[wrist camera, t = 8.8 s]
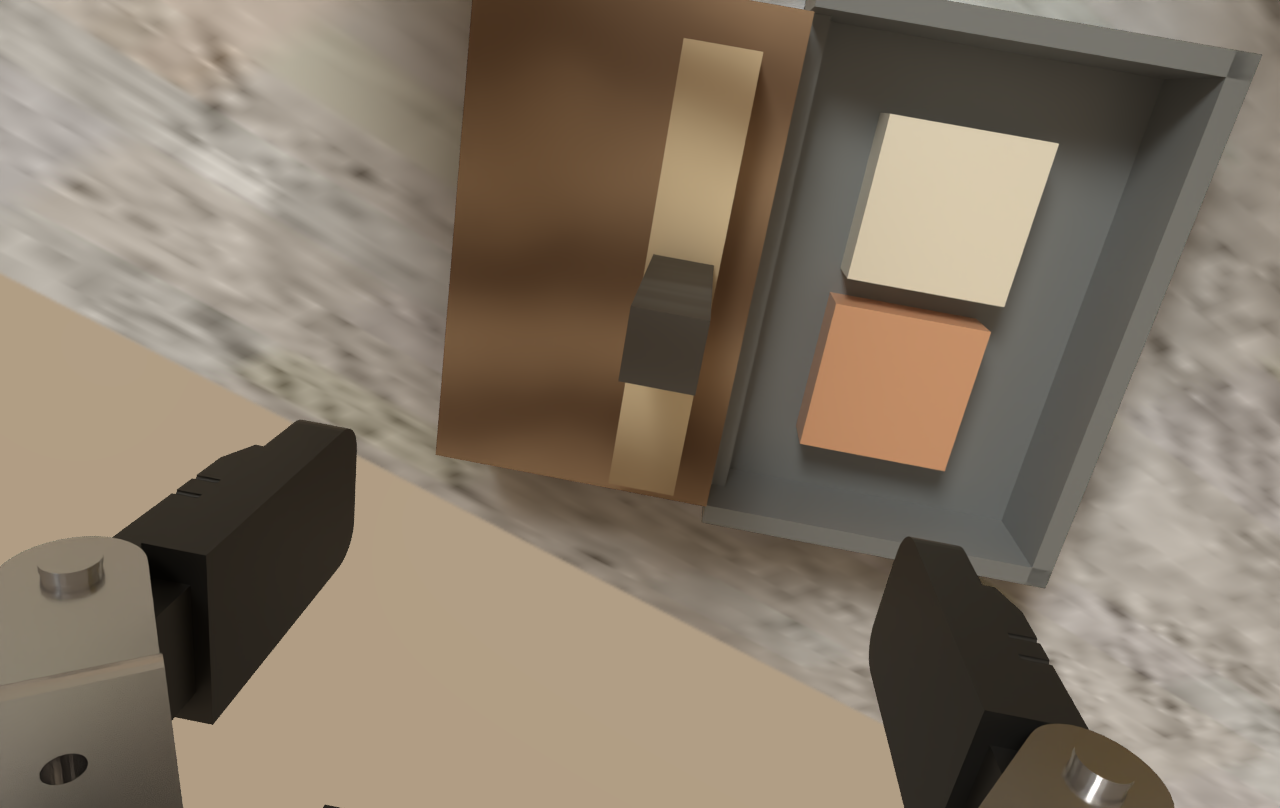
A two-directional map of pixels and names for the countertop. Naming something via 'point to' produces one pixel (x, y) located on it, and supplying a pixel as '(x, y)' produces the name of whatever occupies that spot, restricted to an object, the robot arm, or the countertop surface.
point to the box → (1020, 331)
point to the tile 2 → (946, 208)
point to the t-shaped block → (682, 261)
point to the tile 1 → (890, 381)
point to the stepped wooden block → (590, 224)
